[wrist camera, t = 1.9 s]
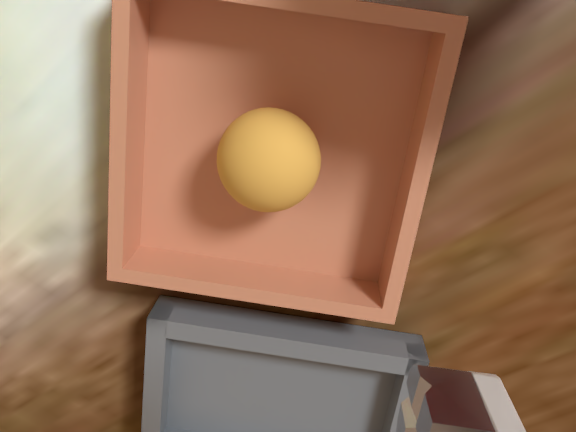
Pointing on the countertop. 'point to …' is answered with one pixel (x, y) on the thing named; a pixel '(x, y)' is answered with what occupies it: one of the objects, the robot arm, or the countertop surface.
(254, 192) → the ball
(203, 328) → the tray
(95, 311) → the countertop surface
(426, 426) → the robot arm
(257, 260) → the dish
